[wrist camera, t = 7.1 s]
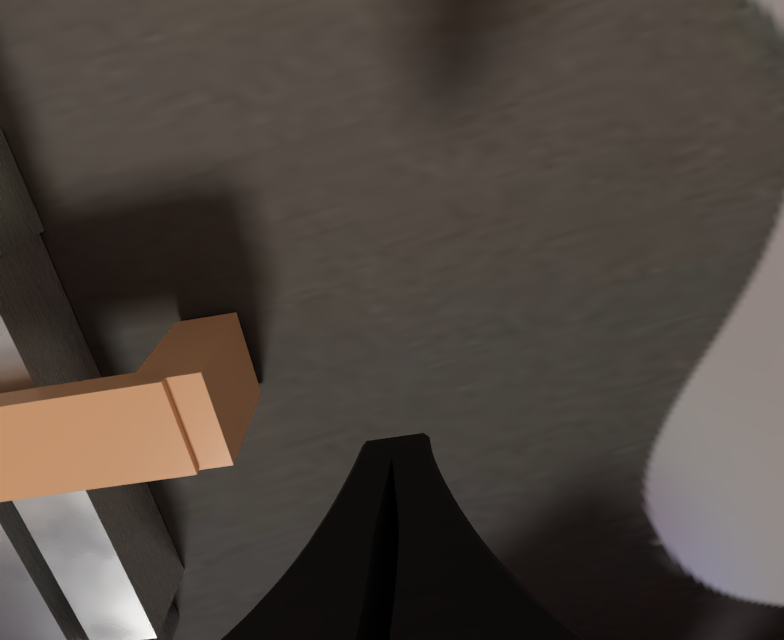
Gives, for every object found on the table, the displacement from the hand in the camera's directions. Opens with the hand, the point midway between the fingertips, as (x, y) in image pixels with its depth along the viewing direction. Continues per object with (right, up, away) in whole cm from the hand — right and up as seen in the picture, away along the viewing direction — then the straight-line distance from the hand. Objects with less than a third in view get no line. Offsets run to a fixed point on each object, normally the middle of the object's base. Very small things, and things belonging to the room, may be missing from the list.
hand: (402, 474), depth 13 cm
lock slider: (-9, +2, +7) cm, 12 cm away
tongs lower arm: (-11, +1, +8) cm, 14 cm away
